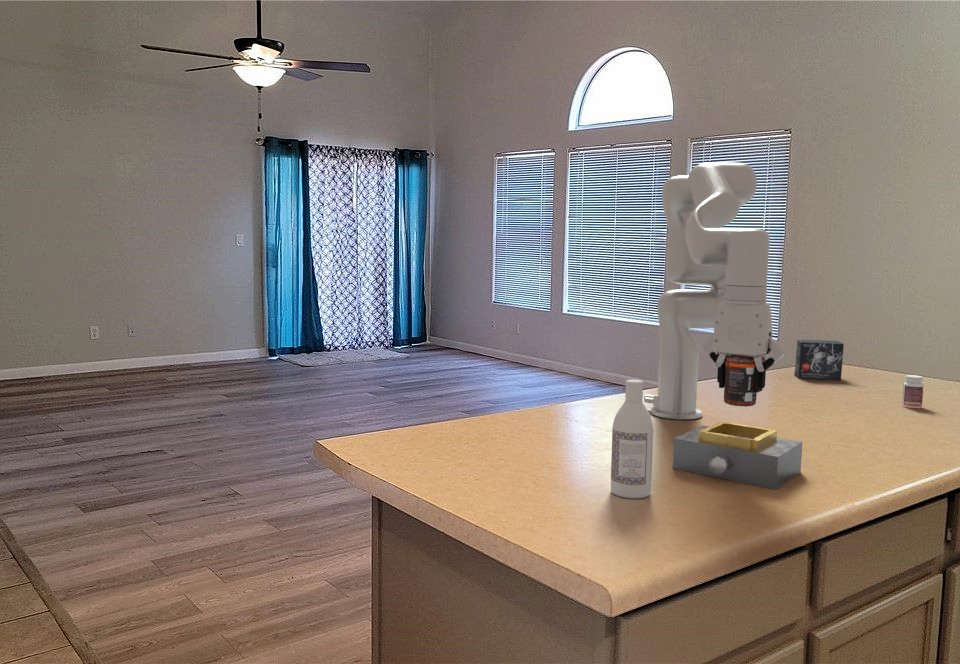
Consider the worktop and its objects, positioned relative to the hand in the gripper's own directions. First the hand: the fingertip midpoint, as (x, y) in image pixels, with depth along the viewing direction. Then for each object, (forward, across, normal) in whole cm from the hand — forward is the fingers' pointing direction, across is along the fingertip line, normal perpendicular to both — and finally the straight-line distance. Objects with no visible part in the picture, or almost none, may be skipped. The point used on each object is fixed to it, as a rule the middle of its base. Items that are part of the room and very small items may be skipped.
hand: (740, 388), depth 154 cm
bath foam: (+16, -9, -26) cm, 32 cm away
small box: (+16, -19, +120) cm, 123 cm away
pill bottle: (+16, +14, +90) cm, 93 cm away
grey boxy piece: (+16, 0, -1) cm, 16 cm away
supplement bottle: (+3, 0, 0) cm, 3 cm away
